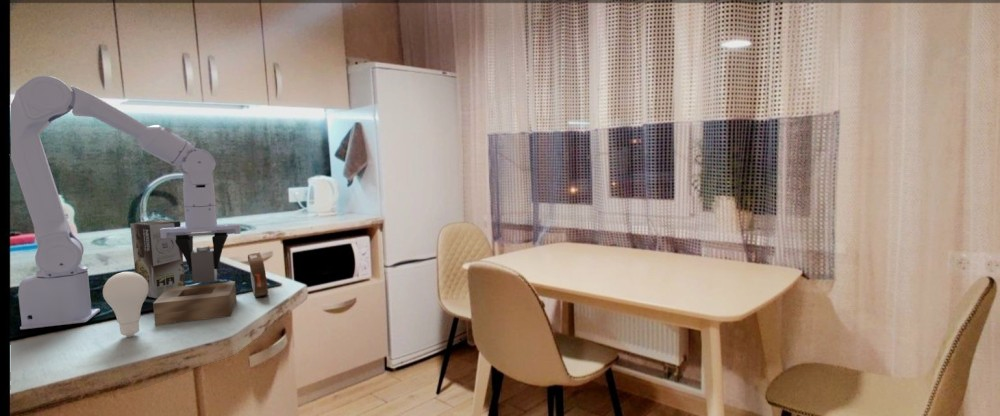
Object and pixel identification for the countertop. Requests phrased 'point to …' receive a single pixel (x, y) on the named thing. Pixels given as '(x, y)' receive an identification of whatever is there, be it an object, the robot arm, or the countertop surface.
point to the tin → (258, 275)
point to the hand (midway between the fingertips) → (204, 269)
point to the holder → (195, 303)
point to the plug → (203, 265)
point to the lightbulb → (126, 299)
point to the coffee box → (157, 256)
